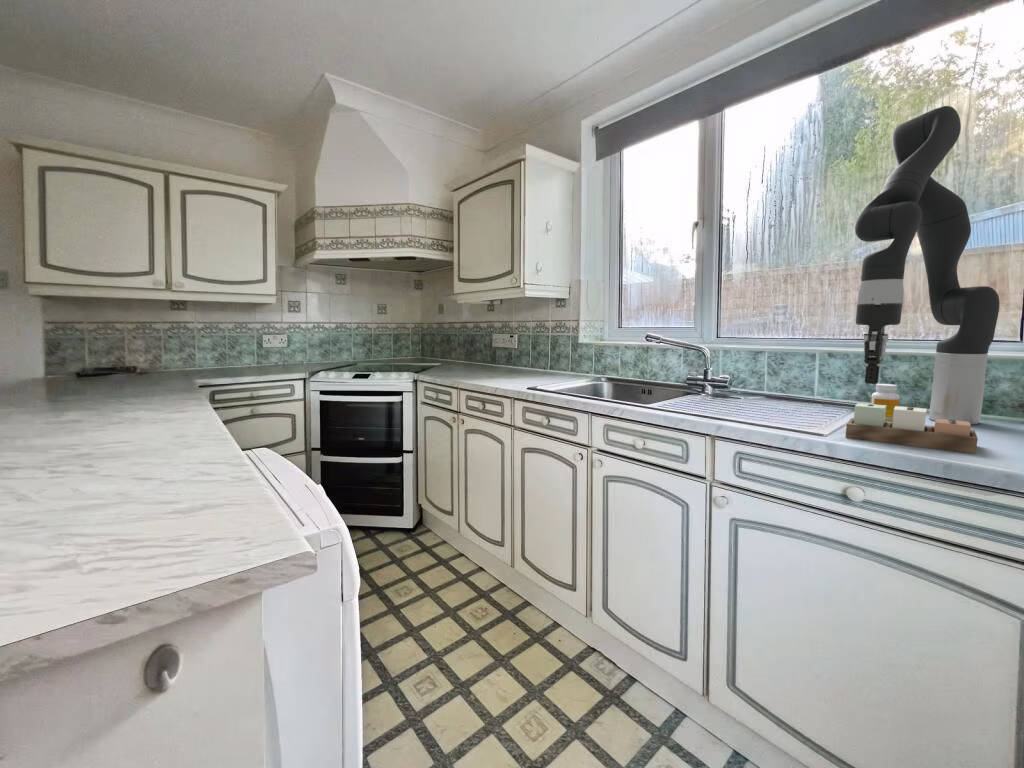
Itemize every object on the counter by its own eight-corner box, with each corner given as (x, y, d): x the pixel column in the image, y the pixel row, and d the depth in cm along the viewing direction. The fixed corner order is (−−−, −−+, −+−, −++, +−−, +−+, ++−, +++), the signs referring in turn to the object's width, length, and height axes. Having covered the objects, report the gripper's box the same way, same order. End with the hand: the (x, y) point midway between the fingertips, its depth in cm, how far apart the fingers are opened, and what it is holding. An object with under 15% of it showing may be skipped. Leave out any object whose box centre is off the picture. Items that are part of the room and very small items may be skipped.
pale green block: (853, 423, 100) (855, 404, 99) (856, 420, 103) (857, 402, 103) (882, 427, 96) (884, 407, 96) (884, 423, 100) (886, 404, 100)
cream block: (891, 428, 95) (893, 408, 95) (893, 424, 99) (895, 405, 99) (924, 431, 92) (926, 411, 92) (924, 427, 96) (926, 407, 95)
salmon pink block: (933, 441, 91) (935, 421, 91) (933, 437, 95) (935, 417, 94) (968, 446, 88) (970, 424, 87) (966, 441, 92) (969, 420, 91)
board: (845, 437, 99) (846, 423, 99) (850, 430, 106) (852, 417, 106) (975, 454, 86) (977, 438, 86) (972, 444, 92) (974, 430, 92)
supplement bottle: (902, 426, 110) (906, 386, 109) (876, 425, 111) (880, 385, 110) (888, 421, 115) (892, 383, 114) (864, 420, 116) (868, 383, 115)
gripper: (861, 304, 104) (853, 379, 106) (853, 301, 95) (845, 384, 97) (904, 303, 99) (895, 382, 101) (900, 300, 90) (891, 387, 92)
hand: (871, 383), depth 99 cm, fingers closed
